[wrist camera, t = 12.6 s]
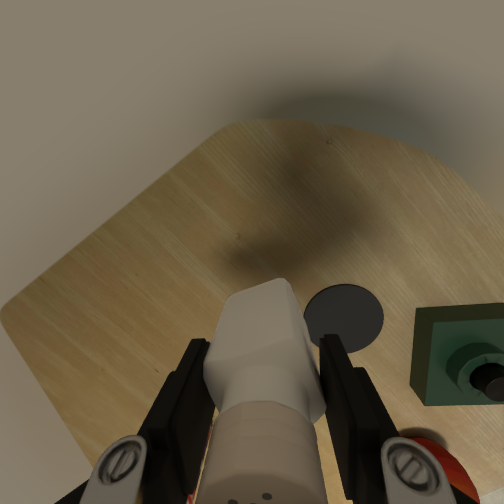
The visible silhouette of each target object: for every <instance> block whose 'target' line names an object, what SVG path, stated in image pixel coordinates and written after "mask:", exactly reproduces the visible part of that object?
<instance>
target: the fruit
mask: <svg viewBox="0 0 504 504" xmlns="http://www.w3.org/2000/svg"><path fill="white" fill-rule="evenodd" d="M409 439H410V440H413V441H415V442H417V443H418V444H420V445H422V446H423V447H425V448H426V449H427V450H428V451H429V452H430V453H432V454H433V455H434V457H435V458H436V459H437V460H438V462H439V463H440V464H441V466H442V468H443V470H444V472H445V474H446V476H447V479H448V481H449V483H450V484H452V485H453V486H455V487H456V488H458V489H459V490H460V491H462V492H463V493H465V494H466V495H468V496H469V497H471V498H472V499H473V500H475V501H476V502H478V503H479V504H480V500H479V496H478V493H477V490H476V488H475V486H474V484H473V483H472V481H471V479H470V477H469V476H468V474H467V472H466V470H465V469H464V468H463V466H462V465H461V464H460V463H459V462H458V460H457V459H456V458H455V457H454V456H452V455H451V454H450V453H449V452H448V451H447V450H446V449H444V448H443V447H442V446H441V445H439V444H437V443H435V442H433V441H431V440H429V439H426V438H419V437H416V438H409Z"/></svg>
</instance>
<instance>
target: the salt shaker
mask: <svg viewBox="0 0 504 504" xmlns="http://www.w3.org/2000/svg"><path fill="white" fill-rule="evenodd" d="M203 378H204V381H205V383H206V386H207V388H208V391H209V393H210V396H211V398H212V400H213V402H214V404H215V405H216V407H217V409H218V411H219V415H218V416H217V418H216V419H215V423H214V426H213V430H212V434H211V438H210V443H209V447H208V448H209V450H208V452H207V455H206V460H205V464H204V465H205V467H204V469H203V472H202V477H201V481H200V485H199V489H198V494H197V498H196V502H195V504H328V500H327V495H326V489H325V484H324V478H323V473H322V469H321V462H320V456H319V451H318V446H317V436H316V432H315V428H314V425H313V424H314V423H315V422H317V421H318V420H319V418H320V417H321V416H322V415H323V414H324V413H325V411H326V408H327V403H326V398H325V395H324V391H323V387H322V383H321V379H320V374H319V370H318V367H317V363H316V359H315V355H314V351H313V348H312V344H311V340H310V336H309V332H308V329H307V325H306V322H305V320H304V317H303V315H302V312H301V310H300V307H299V305H298V302H297V300H296V297H295V295H294V292H293V290H292V288H291V285H290V283H289V282H287V281H286V280H285V279H284V278H276V279H274V280H271V281H268V282H265V283H262V284H259V285H257V286H254V287H251V288H248V289H245V290H243V291H240V292H237V293H234V294H232V295H231V296H230V297H229V298H228V299H227V300H226V303H225V306H224V308H223V311H222V314H221V316H220V319H219V322H218V324H217V327H216V330H215V332H214V335H213V338H212V340H211V343H210V346H209V348H208V351H207V354H206V356H205V359H204V362H203Z"/></svg>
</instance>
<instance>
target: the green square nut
mask: <svg viewBox="0 0 504 504" xmlns="http://www.w3.org/2000/svg"><path fill="white" fill-rule="evenodd" d="M485 363H494V364H496V365H498V366H499V367H501V368H502V369H503V370H504V303H493V304H476V305H460V306H444V307H428V308H416V317H415V330H414V342H413V354H412V366H411V378H410V386H411V388H412V389H413V390H414V392H415V393H416V395H417V396H418V397H419V399H420V400H421V402H422V403H423V405H424V406H449V405H493V404H504V401H503V402H496V401H492V400H490V399H489V398H488V397H487V396H486V395H485V394H484V393H483V392H481V391H480V390H479V389H478V388H477V387H476V386H475V385H474V384H473V383H472V382H471V380H470V374H471V373H472V372H473V370H474V369H475V368H476V367H478V366H480V365H483V364H485Z"/></svg>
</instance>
